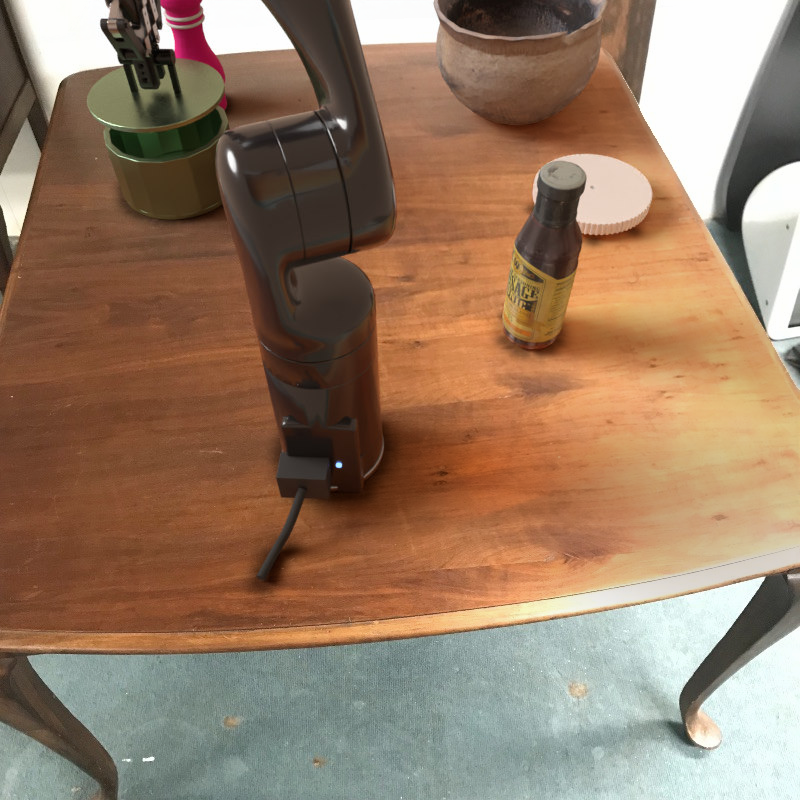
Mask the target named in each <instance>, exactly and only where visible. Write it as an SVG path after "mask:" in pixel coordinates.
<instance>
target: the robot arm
mask: <svg viewBox="0 0 800 800" xmlns="http://www.w3.org/2000/svg"><path fill="white" fill-rule="evenodd" d="M260 1H261V2H262V4H263V5H264V6H265V7H266V8H267V10H268V11H269V13H270V14H271V15H272V17H273V18H274V19H275V21H276V23H278V25H279V26H280V27H281V29H282V31H283V32H284V34H285V35H286V37H287V38H288V39H289V41H290V43H291V44H292V46H293V48H294V49H295V52H296V53H297V55H298V57H299V59H300V61H301V64H302V65H303V67H304V69H305V72H306V73H307V76H308V78H309V81H310V83H311V86H312V89H313V92H314V95H315V98H316V102H317V104H318V109H314V110H309V111H305V112H300V113H295V114H289V115H285V116H280V117H276V118H271V119H266V120H261V121H257V122H252V123H248V124H243V125H239V126H235V127H232V128H230V129H229V130H227V131H225V132H224V133H223V134H222V135H221V136H220V138H219V140H218V142H217V146H216V151H215V170H216V176H217V183H218V188H219V192H220V196H221V200H222V207H223V211H224V214H225V217H226V222H227V225H228V227H229V231H230V235H231V237H232V240H233V244H234V247H235V250H236V253H237V257H238V260H239V264H240V267H241V271H242V276H243V279H244V284H245V288H246V292H247V297H248V301H249V306H250V310H251V316H252V321H253V326H254V330H255V334H256V339H257V343H258V347H259V351H260V357H261V361H262V366H263V370H264V375H265V379H266V384H267V389H268V393H269V397H270V402H271V406H272V411H273V416H274V419H275V424H276V428H277V429H276V430H277V433H278V437H279V441H280V442H279V443H280V447H281V452H280V455H279V459H278V465H277V470H276V476H275V479H276V483H277V487H278V491H279V496H280V497H281V498H291V499H293V501H292V504H291V507H290V510H289V512H288V515H287V518H286V521H285V523H284V525H283V527H282V530H281V532H280V533H279V535H278V537H277V538H276V540H275V541H274V543H273V545H272V547H271V549H270V551H269V552H268V554H267V556H266V558H265V560H264V562H263V564H262V565H261V567H260V569H259V570H258V572H257V574H256V578H257V579H258V580H260V581H262V582H264V581H266V579H267V578H268V575H270V572H271V570H272V568H273V567H274V564H275V562H276V561H277V559H278V557H279V555H280V553H281V551H282V549H283V548H284V546H285V545H286V543H287V541H288V539H290V536H291V534H292V532H293V529H294V527H295V525H296V522H297V520H298V517H299V515H300V512H301V509H302V506H303V503H304V501H305V499H307V500H308V499H311V500H330V496H331V492H344V493H362V492H363V489H364V482H365V481H367V480H368V479H369V478H370V477H372V475H374V473H375V472H376V471H377V470H378V468H379V467H380V465H381V463H382V460H383V457H384V452H385V440H384V434H383V421H382V403H381V385H380V367H379V364H380V363H379V349H378V326H377V325H378V324H377V301H376V299H377V298H376V294H375V289H374V287H373V283H372V282H371V279H370V277H369V276H368V274H366V272H365V271H364V270H363V269H362V268H361V267H360V266H358V265H357V264H356V263H354V262H352V261H350V260H349V259H347V258H345V256H349V255H352V254H357V253H361V252H365V251H368V250H372V249H375V248H378V247H380V246H382V245H385V244H386V243H388V242H389V241H390V239H391V238H392V236H393V235H394V233H395V229H396V225H397V218H398V205H397V204H398V202H397V192H396V191H397V190H396V184H395V178H394V173H393V168H392V167H393V166H392V162H391V158H390V154H389V149H388V145H387V140H386V137H385V132H384V128H383V125H382V124H383V123H382V121H381V117H380V113H379V108H378V105H377V101H376V98H375V97H376V96H375V93H374V88H373V85H372V80H371V76H370V74H369V70H368V65H367V62H366V58H365V53H364V50H363V47H362V42H361V37H360V35H359V30H358V26H357V21H356V18H355V14H354V10H353V6H352V1H351V0H260ZM104 2H105V5H106V7H107V9H108V10H109V11H108V18H102V17H101V18H100V20H99V26H100V29H101V31H102V33H103V34H104V36H105V37H106V39H107V40H108V42H109V43H110V45H111V46H112V48H113V50H114V51H115V52H116V55H117V54H118V55H119V57H120V58H121V59H122V60H132V61H133V64H134V68H135V71H136V75H137V78H138V82H139V85H140V87H141V88H142V89H151V90H156V89H158V88H159V86H160V84H161V83H160V79H163V78H164V76H165V74H166V72H165V68H164V65H156V64H155V60H154V56H153V54H152V49H160V46H159V44H160V41H161V36H160V32H159V31H162V30H163V17H162V6H161V2H160V0H104Z"/></svg>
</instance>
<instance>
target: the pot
mask: <svg viewBox="0 0 800 800" xmlns="http://www.w3.org/2000/svg"><path fill="white" fill-rule="evenodd" d="M229 129H231V128H230V123H229V120H228V116H227V114H226V111H225V110H224V109H223V108H221V107H220V106H217V107H216V108H215V109H214V110H213V111H212V112H210V113H209V114H208V115H206V116H205V117H203V118H201V119H199V120H197V121H195V122H193V123H191V124H188V125H185V126H182V127H179V128H176V129H171V130H167V131H160V132H151V133H133V132H124V131H119V130H115V129H112V128H109V127H106V126H105V127H104V130H103V139H104V144H105V147H106V151H107V154H108V156H109V159H110V162H111V166H112V168H113V171H114V173H115V176H116V179H117V182H118V185H119V188H120V191H121V193H122V196H123V199H124V200H125V202H126V203H127V204H128V206H129V207H130V208H131V209H132V210H134V211H135V212H137V214H141V215H143V216H145V217H148V218H150V219H151V218H152V219H157V220H165V221H166V220H167V221H168V220H169V221H170V220H172V221H173V220H175V221H176V220H185V219H190V218H195V217H199V216H202V215H204V214H207V213H209V212H212V211H214V210H215V209H218V208H220V207H221V206H223V204H222V200H221V196H220V192H219V188H218V183H217V176H216V170H215V151H216V146H217V142H218V140H219V138H220V136H221V135H222V134H223V133H224V132H225V131H227V130H229Z"/></svg>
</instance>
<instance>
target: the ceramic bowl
mask: <svg viewBox="0 0 800 800" xmlns="http://www.w3.org/2000/svg"><path fill="white" fill-rule="evenodd" d="M610 1H611V0H433V2H432V3H433V8H434V10H435V13H436V15H437V18H438V21H439V25H438V29H437V32H436V42H435V48H436V49H435V54H436V62H437V66H438V69H439V73H440V75H441V77H442V79H443V81H444V83H445V84H446V85H447V87H448V89H449V90H450V91H451V93H452V94H453V96H454V97H455V98H456V100H457V101H458V102H460V103H461V104H462V105H463V106H465V107H466V108H467V109H468V110H470V111H471V112H473V113H474V114H476V115H478V116H480V117H481V118H484V119H486V120H488V121H491V122H495V123H497V124H503V125H509V126H510V125H511V126H522V125H529V124H530V125H531V124H535V123H538V122H541V121H544V120H546V119H548V118H551V117H554V116H555V115H557V114H559V113H560V112H561V111H563V110H564V109H565V108H566V107H567V106H569V105H570V104H571V103H572V102H573V101H575V100H576V99H577V98H578V96H580V95H581V94H582V92H583V91H584V90H585V88H586V87H587V86H588V84H589V82H590V80H591V78H592V77H593V75H594V73H595V71H596V69H597V66H598V63H599V60H600V56H601V55H600V53H601V47H602V40H603V39H602V38H603V37H602V35H603V34H602V32H603V31H602V29H603V28H602V22H603V19H604V18H605V16H606V12H607V10H608V7H609V4H610Z"/></svg>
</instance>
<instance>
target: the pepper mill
mask: <svg viewBox="0 0 800 800" xmlns="http://www.w3.org/2000/svg"><path fill="white" fill-rule="evenodd" d="M160 2H161V8H163V9H164V11H163V16H164V18H165V20H164V21H165V24H166V25H167V26H168V27H169V28H170V29H171V32H172V36H173V42H174V49H173V50H174V52H175V56H176V58H183V59H190V60H195V61H198V62H202V63H204V64H207V65H209V66H211V67H212V68H214V69H215V70H216V71H218V73H219V74H220V75H221V77H222V78H223V81H224V85H225V83H226V73H225V70H224V67H223V64H222V63H221V61H220V59H219V58H218V57H217V55H216V53H215V52H214V51H213V49H212V48H211V46H210V45H209V43H208V41H207V39H206V35H205V32H204V26H203V23H204V21H205V19H206V16H205V13H204V8H203V6H202V5H201V4H202V2H203V0H160ZM218 106H220V107H221V108H223V109H224V111H225V110H226V109H227V106H228V101H227V97H226V92H225V93H224V97H223V99H222V101H221V102H220V104H219V105H218Z"/></svg>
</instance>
